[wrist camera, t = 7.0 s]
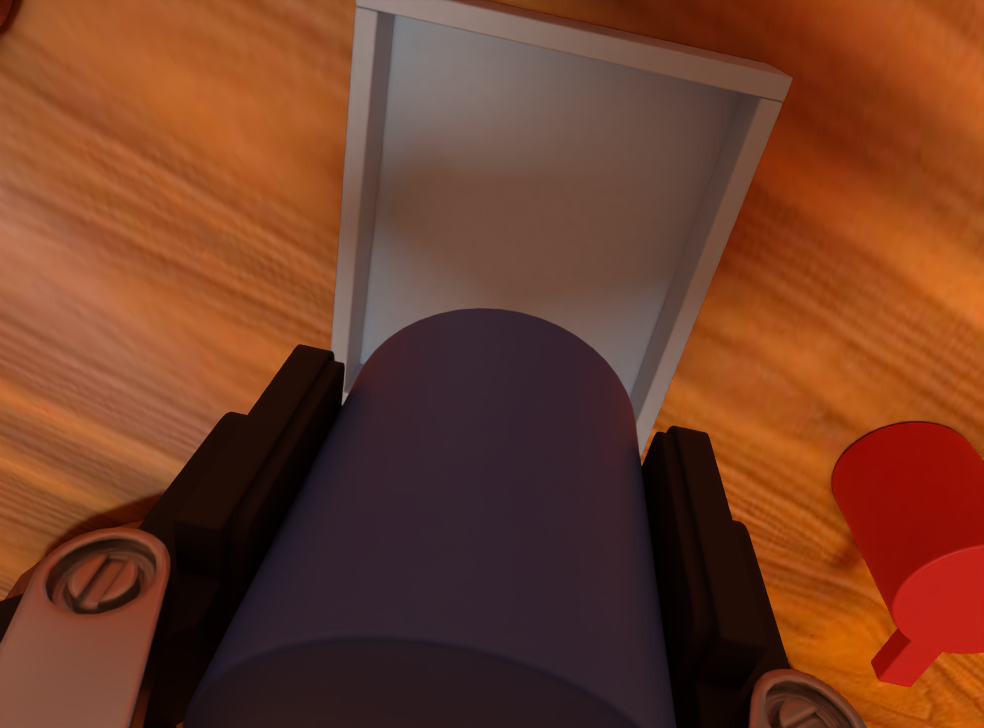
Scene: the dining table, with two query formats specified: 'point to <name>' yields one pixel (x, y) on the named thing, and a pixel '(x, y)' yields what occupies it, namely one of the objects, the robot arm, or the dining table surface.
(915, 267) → the dining table surface
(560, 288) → the blue tray
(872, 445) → the tabbed red cylinder
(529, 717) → the tabbed navy cylinder
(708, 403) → the dining table surface
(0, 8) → the supplement bottle
